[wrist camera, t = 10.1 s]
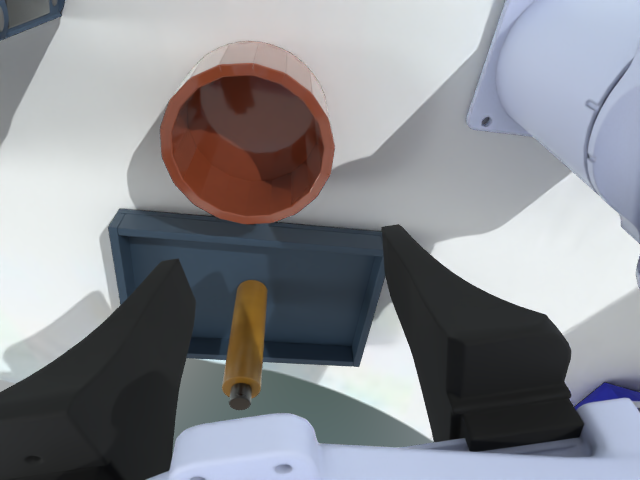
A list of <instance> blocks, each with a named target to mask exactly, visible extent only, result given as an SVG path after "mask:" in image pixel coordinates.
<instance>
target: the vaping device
mask: <svg viewBox="0 0 640 480" xmlns="http://www.w3.org/2000/svg"><path fill="white" fill-rule="evenodd" d="M64 3H65V0H0V41H1V40H3V39H6V38H8V37H11V36H13V35H16V34H18V33H21V32H23V31H26V30H28V29H31V28H33V27H36V26H38V25H41V24H43V23H46V22H48V21H51V20H53V19H56V18H58V17H61V16H62V15H61V14H60V12H61V11H62V9H63V7H64Z"/></svg>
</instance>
